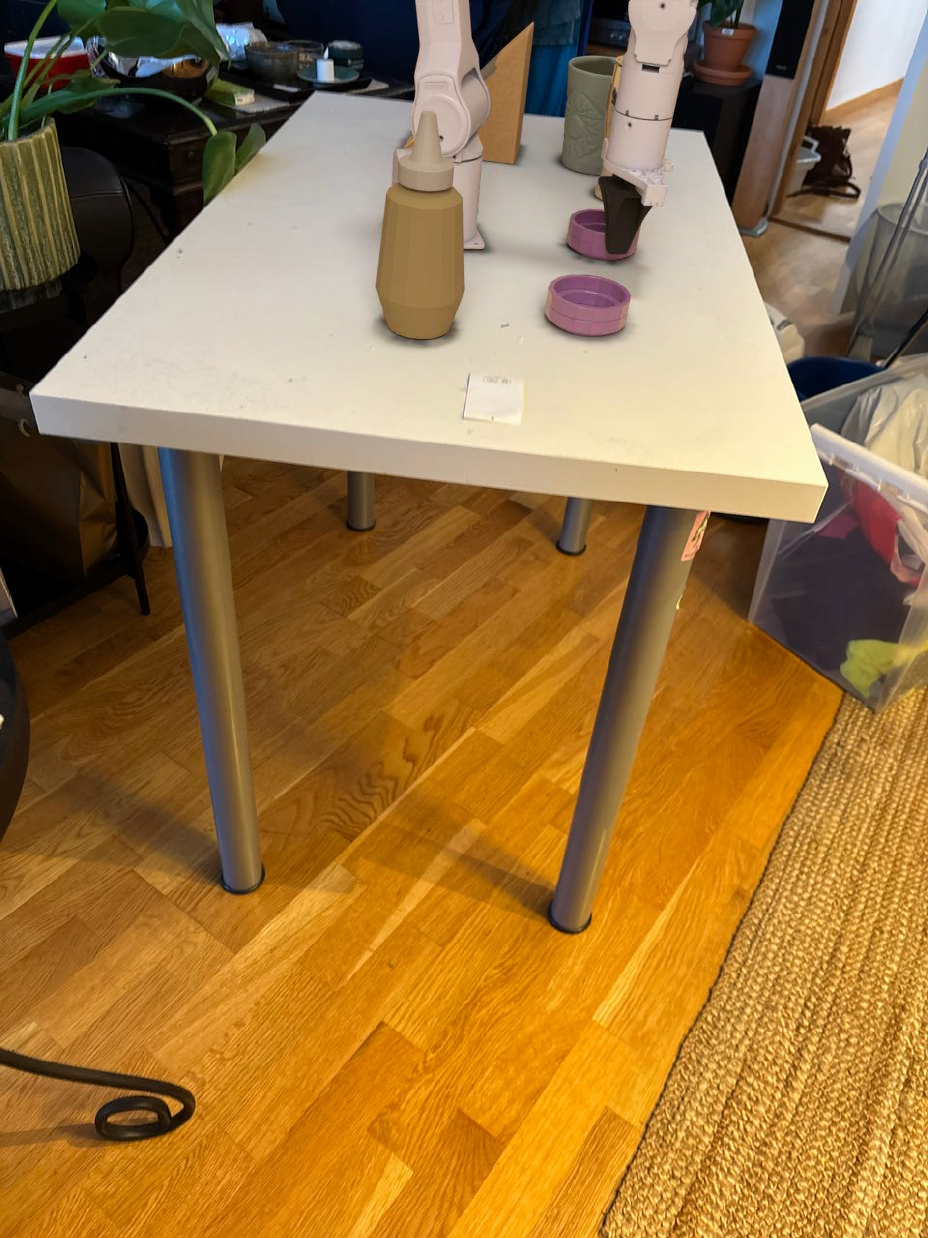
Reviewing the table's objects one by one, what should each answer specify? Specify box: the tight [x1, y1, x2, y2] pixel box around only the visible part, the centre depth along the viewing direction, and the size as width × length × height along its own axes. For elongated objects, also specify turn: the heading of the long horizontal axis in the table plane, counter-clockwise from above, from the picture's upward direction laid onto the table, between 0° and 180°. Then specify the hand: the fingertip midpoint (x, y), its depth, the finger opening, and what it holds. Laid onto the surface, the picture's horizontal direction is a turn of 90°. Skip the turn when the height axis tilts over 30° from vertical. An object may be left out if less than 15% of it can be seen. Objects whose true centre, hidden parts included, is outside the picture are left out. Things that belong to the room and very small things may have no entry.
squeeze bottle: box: [374, 111, 466, 340], centre depth 78 cm, size 8×8×18 cm
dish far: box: [566, 208, 642, 261], centre depth 101 cm, size 8×8×3 cm
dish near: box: [544, 273, 632, 337], centre depth 87 cm, size 8×8×3 cm
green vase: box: [561, 55, 617, 176], centre depth 120 cm, size 10×10×12 cm
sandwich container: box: [402, 21, 535, 165], centre depth 120 cm, size 9×15×15 cm, turn 81°
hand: (616, 251), depth 98 cm, fingers closed
